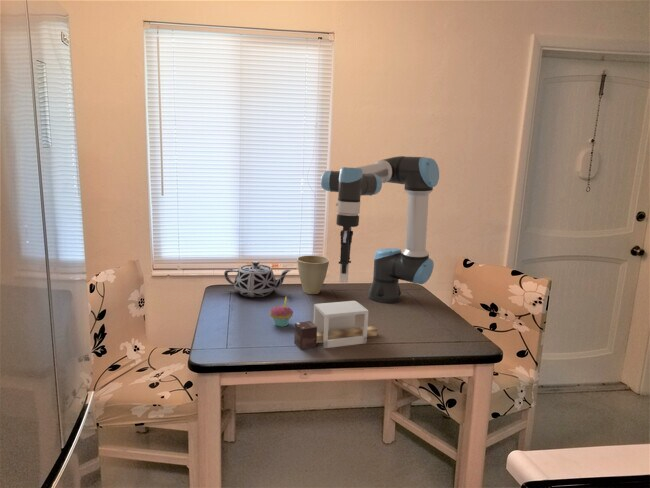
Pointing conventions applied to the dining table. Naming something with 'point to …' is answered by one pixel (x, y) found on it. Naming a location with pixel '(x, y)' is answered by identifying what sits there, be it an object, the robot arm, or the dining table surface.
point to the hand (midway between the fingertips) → (343, 281)
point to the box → (305, 335)
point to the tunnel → (339, 321)
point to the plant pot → (312, 272)
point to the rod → (347, 333)
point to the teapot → (255, 280)
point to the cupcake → (281, 314)
